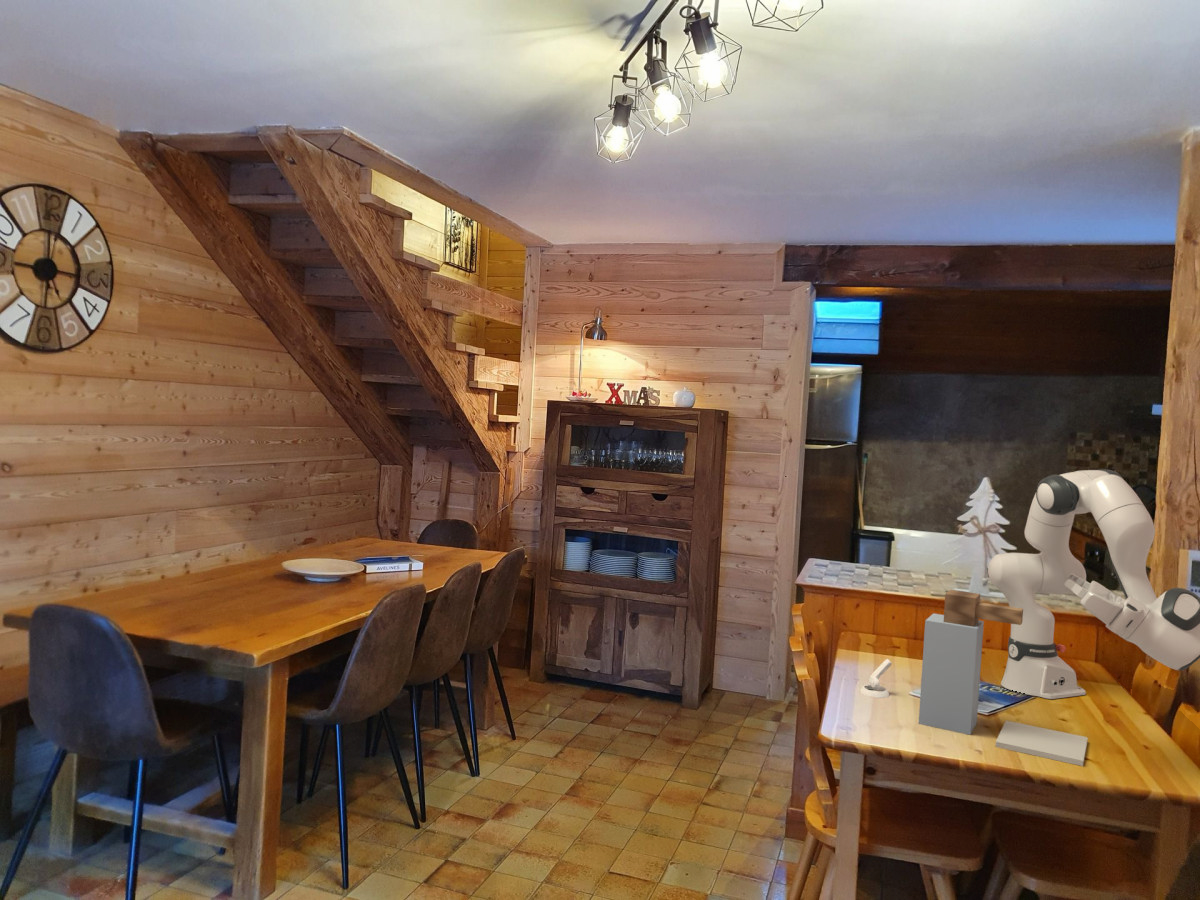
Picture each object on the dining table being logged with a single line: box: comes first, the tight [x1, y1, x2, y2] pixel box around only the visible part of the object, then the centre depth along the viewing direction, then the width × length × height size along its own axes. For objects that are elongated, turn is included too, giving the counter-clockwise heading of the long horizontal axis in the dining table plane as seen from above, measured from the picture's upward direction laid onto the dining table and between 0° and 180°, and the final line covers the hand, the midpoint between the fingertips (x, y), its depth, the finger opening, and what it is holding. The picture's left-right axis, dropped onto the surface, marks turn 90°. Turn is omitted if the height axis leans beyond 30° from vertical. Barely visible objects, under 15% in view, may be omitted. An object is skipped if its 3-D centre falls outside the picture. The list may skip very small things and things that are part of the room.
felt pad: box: [995, 720, 1089, 767], centre depth 208 cm, size 18×18×1 cm
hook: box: [860, 658, 892, 699], centre depth 240 cm, size 8×12×7 cm
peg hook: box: [943, 589, 1023, 627], centre depth 215 cm, size 17×7×7 cm, turn 58°
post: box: [918, 612, 985, 736], centre depth 219 cm, size 12×10×26 cm
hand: (1067, 578), depth 206 cm, fingers open, 8 cm apart
